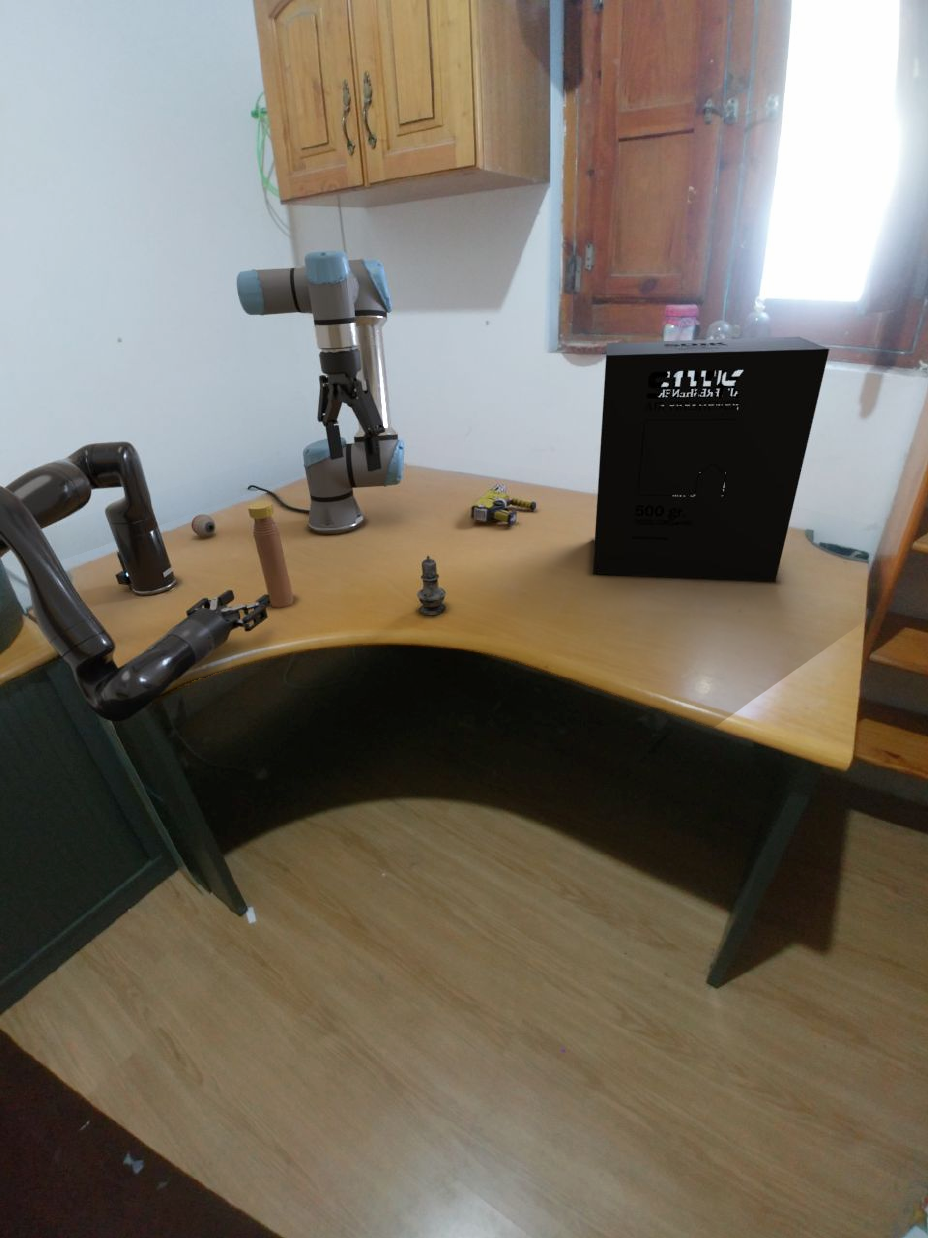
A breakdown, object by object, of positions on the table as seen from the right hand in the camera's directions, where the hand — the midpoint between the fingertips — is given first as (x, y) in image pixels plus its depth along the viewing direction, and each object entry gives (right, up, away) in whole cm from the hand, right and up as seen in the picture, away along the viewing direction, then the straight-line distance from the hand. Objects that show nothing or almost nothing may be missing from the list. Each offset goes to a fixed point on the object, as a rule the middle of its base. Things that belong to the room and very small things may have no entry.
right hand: (355, 463), depth 121 cm
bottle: (-18, -28, +9) cm, 34 cm away
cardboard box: (+71, -17, +18) cm, 75 cm away
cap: (-19, -9, -2) cm, 21 cm away
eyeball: (-49, -8, +46) cm, 68 cm away
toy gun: (+34, -1, +50) cm, 61 cm away
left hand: (-21, -27, -2) cm, 34 cm away
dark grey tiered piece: (+16, -29, +3) cm, 33 cm away
